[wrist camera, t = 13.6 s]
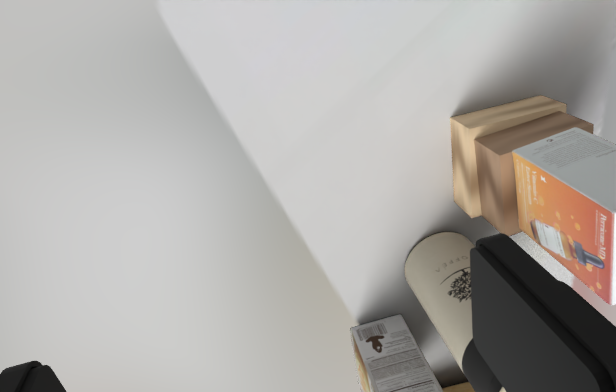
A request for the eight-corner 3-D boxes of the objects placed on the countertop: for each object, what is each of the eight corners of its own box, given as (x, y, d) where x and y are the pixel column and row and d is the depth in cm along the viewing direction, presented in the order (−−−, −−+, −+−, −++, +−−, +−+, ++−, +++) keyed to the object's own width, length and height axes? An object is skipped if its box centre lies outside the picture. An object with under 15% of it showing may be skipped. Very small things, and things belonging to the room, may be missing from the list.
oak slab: (448, 116, 42) (469, 129, 39) (537, 93, 43) (566, 104, 39) (452, 199, 46) (471, 218, 43) (534, 178, 47) (559, 194, 43)
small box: (509, 148, 36) (612, 210, 26) (575, 124, 36) (702, 177, 26) (517, 230, 39) (610, 309, 30) (577, 208, 39) (688, 280, 30)
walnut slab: (474, 139, 39) (499, 155, 36) (559, 110, 39) (593, 124, 36) (481, 215, 43) (505, 237, 39) (559, 188, 43) (590, 208, 40)
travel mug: (469, 285, 51) (582, 425, 35) (402, 297, 50) (487, 446, 34) (476, 225, 48) (605, 349, 32) (404, 236, 47) (500, 370, 31)
